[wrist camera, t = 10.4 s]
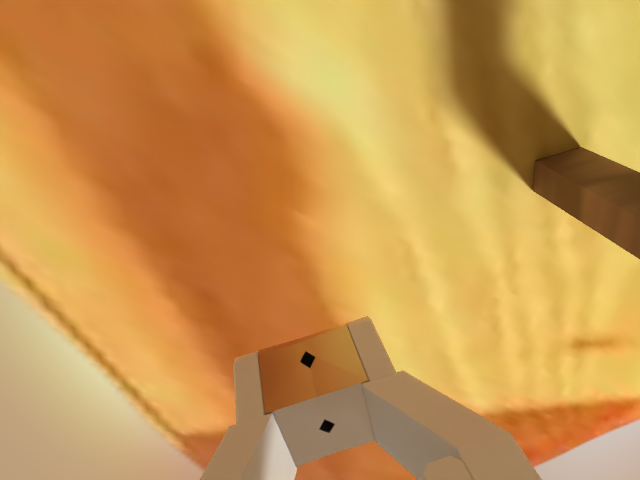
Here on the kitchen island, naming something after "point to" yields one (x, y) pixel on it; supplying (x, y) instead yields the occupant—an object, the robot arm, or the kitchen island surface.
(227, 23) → the kitchen island surface
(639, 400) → the kitchen island surface
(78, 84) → the kitchen island surface
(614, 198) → the bridge
